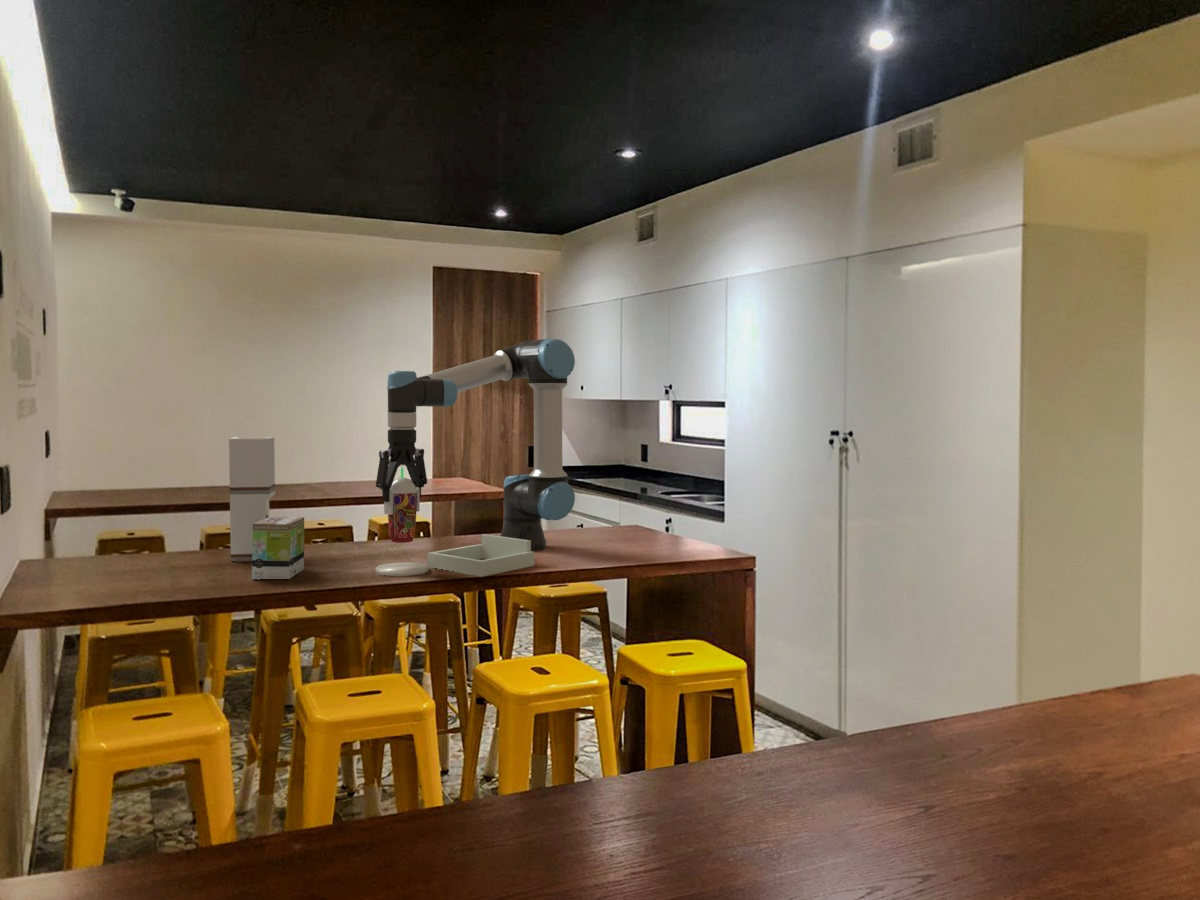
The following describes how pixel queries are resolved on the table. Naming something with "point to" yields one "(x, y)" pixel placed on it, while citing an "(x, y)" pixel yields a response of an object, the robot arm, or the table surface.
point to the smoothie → (403, 510)
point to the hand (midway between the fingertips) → (402, 512)
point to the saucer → (402, 569)
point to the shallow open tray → (485, 556)
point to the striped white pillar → (249, 490)
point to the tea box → (278, 548)
